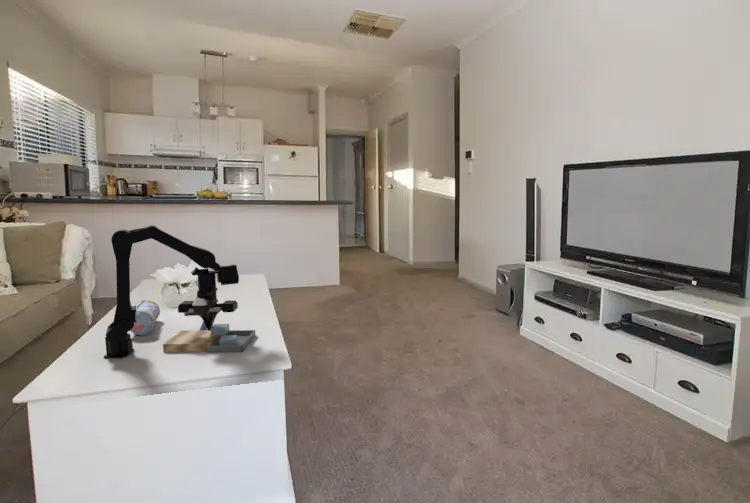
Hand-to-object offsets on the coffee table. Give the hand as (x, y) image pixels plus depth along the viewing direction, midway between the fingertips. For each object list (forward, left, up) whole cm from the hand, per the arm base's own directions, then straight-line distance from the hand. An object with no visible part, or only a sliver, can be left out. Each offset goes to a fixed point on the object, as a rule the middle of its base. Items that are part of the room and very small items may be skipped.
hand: (209, 330), depth 151 cm
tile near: (+8, -6, -3) cm, 11 cm away
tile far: (+4, 0, -1) cm, 4 cm away
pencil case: (-30, +14, -4) cm, 33 cm away
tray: (+9, -4, -4) cm, 10 cm away
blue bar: (-13, +21, -4) cm, 25 cm away
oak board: (-4, -4, -4) cm, 6 cm away
